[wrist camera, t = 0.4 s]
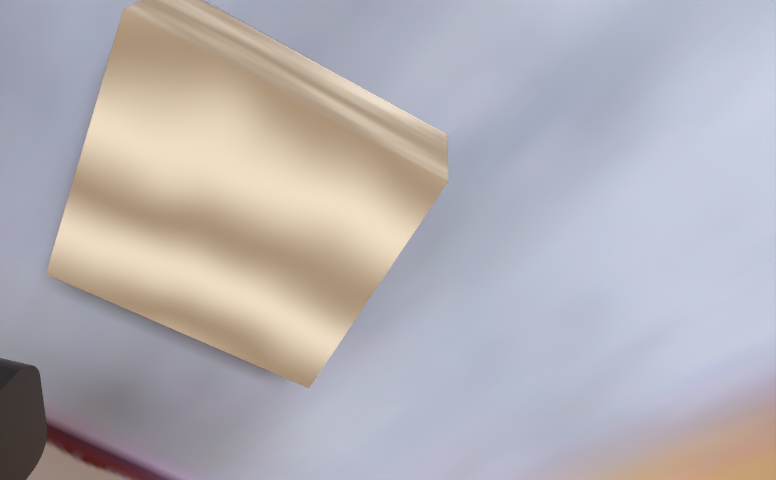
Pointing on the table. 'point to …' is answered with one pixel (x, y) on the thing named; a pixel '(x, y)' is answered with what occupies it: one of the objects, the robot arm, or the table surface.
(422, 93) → the table surface
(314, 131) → the birch block
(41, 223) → the table surface
